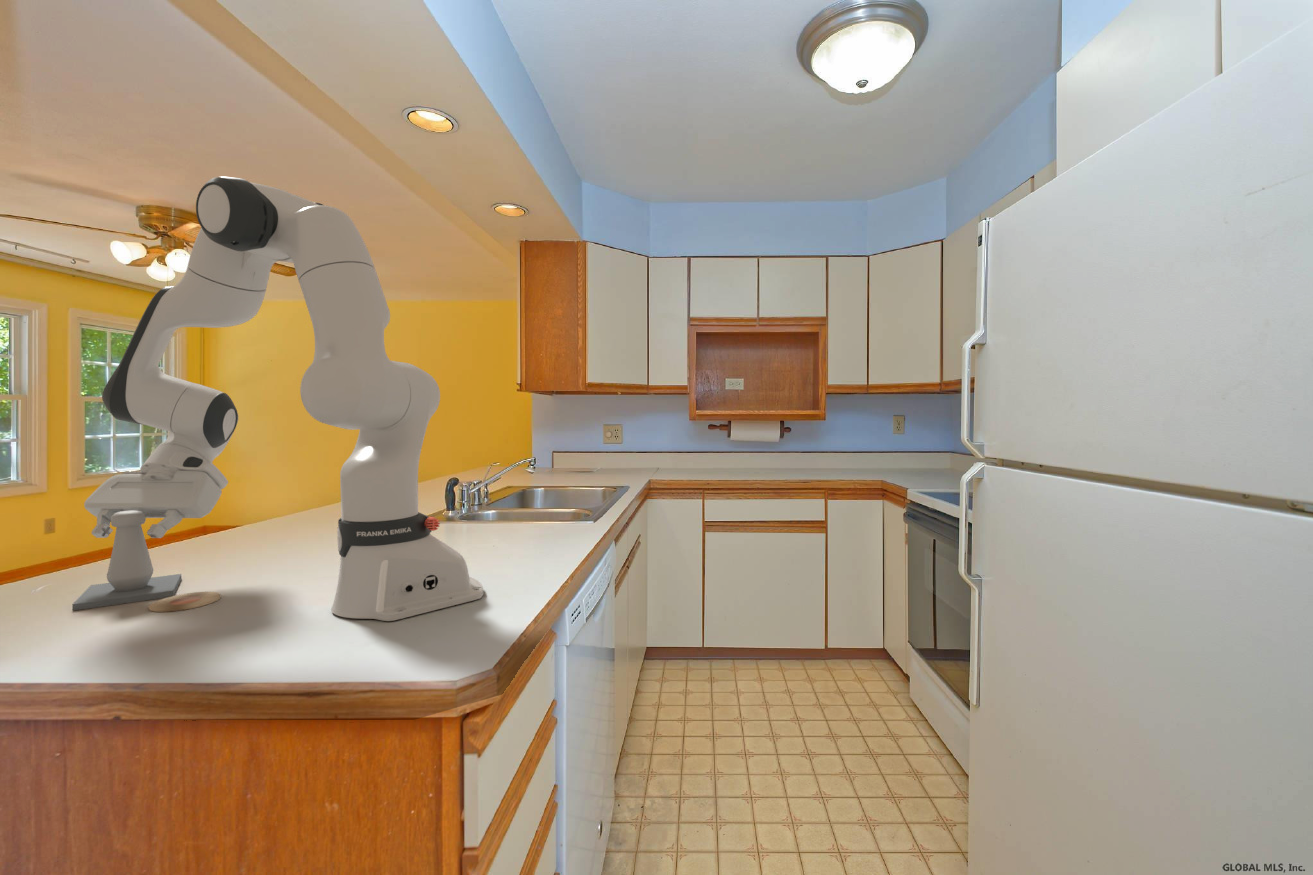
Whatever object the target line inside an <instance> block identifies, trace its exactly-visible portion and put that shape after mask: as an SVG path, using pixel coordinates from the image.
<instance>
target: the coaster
mask: <svg viewBox="0 0 1313 875" xmlns="http://www.w3.org/2000/svg"><path fill="white" fill-rule="evenodd" d="M221 598H222V595H221V593H219V592H216V591H198V592H197V591H196V592H188V593H181V594H177V595H176V594H175V595H174V596H172V597H166V598H160V599H159V600H155V601H154V602H151V603H150V604H149V605H148V610H149V611H150V612H155V613H156V612H157V613H168V612H169V613H172V612H180V611H185V610H191V609H192V610H193V609H197V608H201V607H205V606H209V605H210V604H213V603H215V602H218V601H219V600H220V599H221Z"/></svg>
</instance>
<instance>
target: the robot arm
mask: <svg viewBox="0 0 1313 875" xmlns="http://www.w3.org/2000/svg"><path fill="white" fill-rule="evenodd" d="M195 202H196V203H195V212H196V217H197V218H196V219H197V222H198V223H199V225H200V229H199V231H198V234H197V236H196V238H195V241H194V243H193V245H192V249H191V252H190V255H189V259H188V263H187V267H186V270H185V273H184V275H183V276H182V278H181V279H180V280H179V282H178V283H176V284H175V285H173V286H172V285H171V286H164V287H162V288H161V289H160V290H158V291H157V292H156V293H155V294H154V295H153V297H152V298H151V300H150V301H149V303H148V304H147V306H146V308H145V310H144V312H143V314H142V316H141V318H140V319H139V322H138V324H137V326H136V328H135V330H134V332H133V335H132V336H131V339H130V341H129V343H128V345H127V347H126V349H125V352H124V354H123V356H122V358H121V360H120V362H119V363H118V366H117V367H116V368H115V370H114V372H113V373H112V375H111V376H110V377H109V379H108V381H107V383H106V384H105V387H104V389H103V391H102V395H101V399H102V403H103V404H104V406H105V407H106V409H107V411H108V412H109V413H110V415H111V416H113V418H114V419H116V420H118V421H122V422H126V423H131V424H132V423H133V424H138V425H143V426H148V427H151V428H155V429H159V430H163V431H166V432H168V436H167V438H166V439H165V440H164V441H163V442H161V443H159V444H158V445H157V446H156V447H155V448H154V450H153V451H152V453H151V454H150V455H149V456H148V458H147V459H145V462H144V463H142V465H141V467H140V468H139V470H137V471H133V470H127V471H123V473H119V474H114V475H113V476H111V477H109V478H108V479H106V480H105V481H104V482H103V483H101V485H99V486H98V487H97V488H96V489H95V490H94V491H93V492H92V493H91V494H90V495H89V496H88V497H87V498H86V500H85V501H84V503H83V504H84V509H85V510H86V511H88V512H89V513H90V514H91V515H92V516H94V517H96V526H94V528H93V529H92V530H91V535H92V536H94V537H95V538H97V539H98V538H99V539H100V538H101V539H105V538H108V537H109V536H110V535H111V534H112V533H113V531H114V529H112V527H111V517H112V515H114V514H115V513H117V512H121V511H131V510H137V511H142V512H144V513H145V516H146V519H161V520H160V521H159V522H157V523H155V524H154V523H153V524H151V525H150V527H149V529H148V530H147V532H146V535H147V536H150V538H151V539H161V538H163V537H164V536H165V534H166V533H167V532H168V531H169V530H171V529H172V528H174V527H175V526H177V525H179V523H181V522H182V520H183V519H202V518H204V517H205V516H207V515H209V514H210V513H211V512H212V510H213V509H214V507H215V506H216V505H217V503H218V501H219V499H220V498H221V495H222V490H223V489H225V488H226V487H227V485H228V484H229V480H228V479H227V477H226V476H225V475H224V474H223V473H222V471H221V470H220V469H219V468H218V467H217V466H216V465H215V464H214V463H213V461H214V460H215V459H216V458H217V457H219V456H220V455H221V454H222V453H223V451H224V450H225V448H226V447H227V445H228V443H229V441H230V440H231V439H232V436H233V434H234V433H235V430H236V428H237V425H238V423H239V413H238V410H237V408H236V406H235V403H234V401H233V400H232V398H231V397H230V396H229V394H228V393H226V392H224V391H220V390H218V389H215V388H213V387H209V386H206V385H203V384H200V383H195V382H191V381H189V380H185V379H182V378H179V377H176V376H172V375H169V374H166V373H165V372H163V371H162V370H161V369H160V367H159V364H160V362H161V360H162V358H163V356H164V354H165V352H166V350H167V349H168V348H167V347H168V345H169V344H170V342H171V339H172V338H173V335H174V334H175V332H176V331H177V330H178V329H181V328H211V329H212V328H216V329H217V328H219V329H221V328H230V327H234V326H239V325H242V324H244V323H247V322H249V321H250V320H252V319H253V318H255V317H256V316H257V314H258V312H259V311H260V309H261V307H262V304H263V303H264V302H263V301H264V298H265V295H266V291H267V287H268V283H269V280H270V275H271V274H270V273H271V270H272V268H273V266H274V264H275V263H277V262H283V263H290V264H293V266H294V270H295V274H296V276H297V280H298V283H299V285H300V288H301V291H302V294H303V298H304V300H305V304H306V308H307V311H308V314H309V317H310V320H311V323H312V328H313V334H314V336H313V337H314V356H313V360H312V362H311V364H310V365H309V366H308V368H307V369H306V371H304V374H303V375H302V378H301V382H300V387H299V388H300V389H299V393H300V400H301V403H302V405H303V406H304V409H305V410H306V412H307V413H308V414H309V415H310V416H311V417H312V418H313V419H314V420H316V421H318V422H320V423H322V424H325V425H327V426H328V425H329V426H332V427H336V428H340V429H343V430H344V429H345V430H349V431H350V430H353V431H354V430H355V431H356V430H359V431H358V437H357V440H356V442H355V445H354V446H355V447H354V448H353V450H352V453H350V455H349V457H348V458H347V459H346V460H345V461H344V463H343V464H342V466H341V469H340V471H339V474H340V479H339V480H340V481H339V482H340V514H341V517H340V518H339V519H338V522H337V525H338V527H337V530H336V532H337V551H338V553H339V555H340V560H339V563H340V564H339V571H338V572H339V574H338V579H337V586H336V592H335V596H334V599H333V603H332V606H331V612H332V613H333V614H334V615H335V616H339V617H342V618H346V619H347V618H348V619H365V620H366V619H371V620H372V619H374V620H379V621H384V622H391V621H392V622H393V621H397V620H402V619H405V618H409V617H413V616H417V615H421V614H426V613H429V612H434V611H437V610H440V609H446V608H448V607H453V606H455V605H456V606H457V605H460V604H465V603H469V602H472V601H476V600H480V599H481V598H482V597H483V596H484V587H483V585H482V583H481V582H479V580H477V579H475V578H474V577H471V576H470V573H469V569H468V565H467V563H466V560H465V557H464V556H463V555H462V554H461V553H460V552H459V551H457V550H456V549H454V548H453V547H451V546H450V545H448V544H446V543H445V542H443V541H442V540H440V539H438V538H437V537H436V536H434V535H433V534H431V533H432V531H433V532H434V531H436V530H438V529H439V527H440V525H441V523H440V520H438V518H437V517H434V516H428V515H426V514H424V513H421V512H419V464H420V458H421V453H422V447H423V445H424V444H423V443H424V439H425V435H426V432H427V428H428V424H429V422H430V420H431V418H432V417H433V416H434V414H435V413H436V412H437V410H438V408H439V406H440V401H441V391H440V388H439V385H438V383H437V381H436V380H435V378H434V377H433V376H432V375H431V374H430V373H428V372H427V371H425V370H423V369H422V368H420V367H418V366H416V365H414V364H412V363H408V362H402V361H396V360H390V358H389V357H388V355H387V352H386V346H385V329H386V328H387V326H388V325H389V323H390V320H391V311H390V308H389V306H388V302H387V300H386V297H385V293H384V291H383V288H382V285H381V282H380V279H379V276H378V273H377V271H376V267H375V265H374V262H373V259H372V256H371V254H370V252H369V250H368V248H367V246H366V243H365V241H364V239H363V237H362V236H361V233H360V232H359V230H358V228H357V226H356V225H355V223H354V221H353V220H352V218H351V217H350V216H349V214H347V213H346V212H345V211H343V210H341V209H339V208H337V207H334V206H330V205H324V204H323V203H320V202H315V201H312V200H309V199H307V198H305V197H302V196H299V195H296V194H294V193H290V192H289V191H287V190H285V189H280V188H277V187H274V186H270V185H265V184H262V183H261V184H260V183H257V182H256V183H255V182H250V181H248V180H247V179H244V178H239V177H230V176H216V177H213V178H210V179H208V181H206V182H205V183H204V185H203V186H202V187H201V188H200V190H199V192H198V194H197V198H196V201H195Z"/></svg>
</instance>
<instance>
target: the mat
mask: <svg viewBox="0 0 1313 875" xmlns="http://www.w3.org/2000/svg"><path fill="white" fill-rule="evenodd" d="M181 581H182V573H177V574H169V575H160V576H155V577H152V576H151V578H150V580H149V582H148V585H147V586H145V587H144V588H141V589H136V590H131V591H116V590H115V589H114V588H113V586H112V585H111V584H110V583H109V582H107V583H105V582H104V583H98V584H97V583H96V584H90V586H88V588H86V590H85V591H84V592H83V593H81V595H80V596H79V597H78V598H77V599H76V600H75V601H74V602H73V603H72V607H71V608H72V611H80V610H87V609H88V610H89V609H95V608H100V607H107V606H109V607H110V606H116V605H122V604H129V603H137V602H138V603H139V602H144V601H151V600H157V599H159V600H160V599H164V598H168V597H172V596H175V595H176V593H177V590H178V588H179V585H180V583H181Z"/></svg>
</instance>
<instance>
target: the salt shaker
mask: <svg viewBox="0 0 1313 875" xmlns="http://www.w3.org/2000/svg"><path fill="white" fill-rule="evenodd" d="M146 519H147V518H146V516H145V513H144V512H142V511H137V510H131V511H121V512H117V513H115V514H114V515H112V517H111V522H110V526H112V527H114V528H116V529H115V535H114V540H113V544H112V546H113V547H112V551H111V556H110V560H109V563H108V569H107V575H106V580H107V583H110V584H111V585H112V586H113V588H114V589H115V590H116V591H131V590H136V589H141V588H144V587H145V586H147V585H148V582H149V580H150V578H152V576H153V575H154V567H153V563H152V560H151V557H150V556H151V555H150V552H149V549H148V546H147V541H146V537H145V535H144V530H143V527H142V525H144V524H145V523H146Z"/></svg>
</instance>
